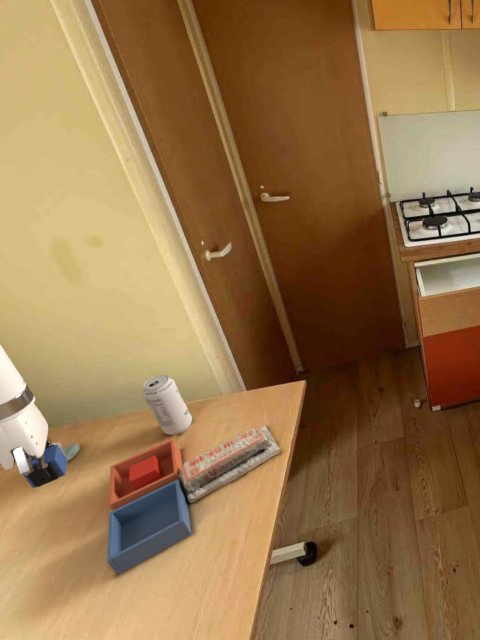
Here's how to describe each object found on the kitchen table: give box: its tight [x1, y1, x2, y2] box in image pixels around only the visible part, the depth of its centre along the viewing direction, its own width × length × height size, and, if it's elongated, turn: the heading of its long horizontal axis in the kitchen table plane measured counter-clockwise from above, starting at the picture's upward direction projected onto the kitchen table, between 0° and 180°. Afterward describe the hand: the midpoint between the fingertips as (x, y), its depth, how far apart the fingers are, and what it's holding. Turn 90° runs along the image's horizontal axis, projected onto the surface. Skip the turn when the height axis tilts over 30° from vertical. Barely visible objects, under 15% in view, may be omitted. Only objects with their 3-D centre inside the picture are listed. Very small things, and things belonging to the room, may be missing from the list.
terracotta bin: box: [108, 438, 184, 511], centre depth 92 cm, size 11×11×4 cm
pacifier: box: [49, 442, 80, 463], centre depth 96 cm, size 7×6×6 cm
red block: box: [129, 456, 164, 491], centre depth 91 cm, size 4×4×4 cm
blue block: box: [22, 445, 68, 489], centre depth 82 cm, size 4×4×4 cm
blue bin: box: [106, 479, 192, 575], centre depth 83 cm, size 11×11×4 cm
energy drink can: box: [142, 374, 193, 436], centre depth 103 cm, size 6×6×15 cm
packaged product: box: [179, 425, 280, 504], centre depth 96 cm, size 18×5×10 cm
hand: (49, 471), depth 83 cm, fingers closed on blue block, 4 cm apart
